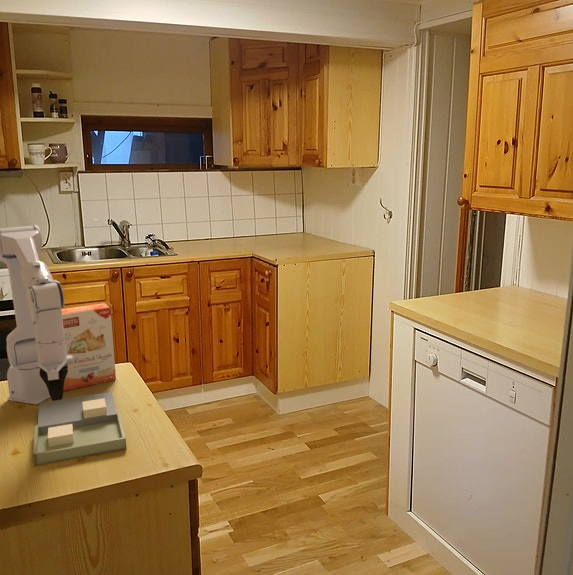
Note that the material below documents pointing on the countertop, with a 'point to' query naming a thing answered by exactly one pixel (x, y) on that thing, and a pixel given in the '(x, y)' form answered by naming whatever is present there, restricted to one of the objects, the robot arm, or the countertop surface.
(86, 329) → the cracker box
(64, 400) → the slate plate
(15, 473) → the countertop surface
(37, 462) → the tray
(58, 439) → the tile
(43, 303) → the robot arm
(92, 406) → the tile
